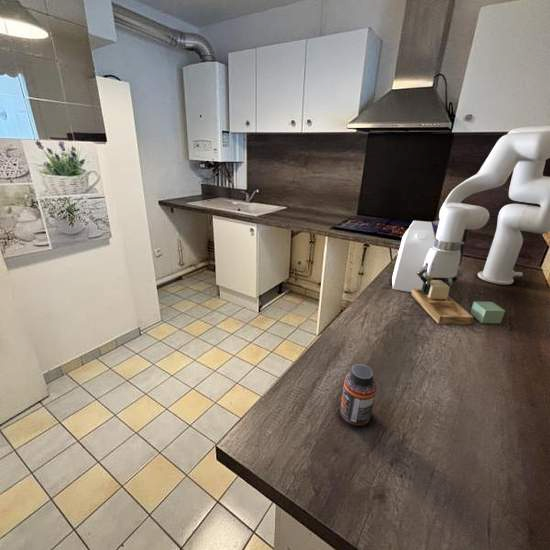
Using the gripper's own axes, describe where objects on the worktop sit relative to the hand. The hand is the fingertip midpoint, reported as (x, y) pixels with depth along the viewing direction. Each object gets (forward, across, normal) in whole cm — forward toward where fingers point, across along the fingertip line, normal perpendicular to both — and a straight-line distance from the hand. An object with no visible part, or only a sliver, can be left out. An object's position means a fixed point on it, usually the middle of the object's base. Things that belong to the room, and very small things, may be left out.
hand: (434, 293), depth 103 cm
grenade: (+4, -11, -19) cm, 22 cm away
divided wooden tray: (+3, 0, +5) cm, 6 cm away
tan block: (+1, 0, 0) cm, 1 cm away
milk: (+4, +3, -13) cm, 14 cm away
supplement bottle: (+3, +40, +50) cm, 64 cm away
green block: (+3, -12, +11) cm, 16 cm away
